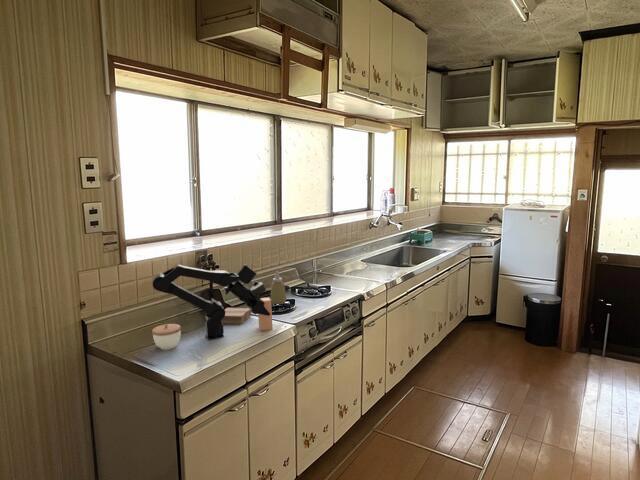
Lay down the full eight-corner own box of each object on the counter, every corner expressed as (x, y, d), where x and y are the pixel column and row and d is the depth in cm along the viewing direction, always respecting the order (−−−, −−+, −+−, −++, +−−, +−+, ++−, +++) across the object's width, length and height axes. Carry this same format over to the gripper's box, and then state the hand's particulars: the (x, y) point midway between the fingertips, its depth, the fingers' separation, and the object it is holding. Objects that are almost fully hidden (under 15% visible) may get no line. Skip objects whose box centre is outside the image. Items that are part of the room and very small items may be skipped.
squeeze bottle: (279, 302, 230) (278, 269, 227) (289, 305, 224) (288, 271, 222) (267, 305, 224) (265, 271, 222) (277, 308, 219) (275, 274, 216)
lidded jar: (167, 340, 181) (165, 318, 180) (187, 343, 177) (185, 321, 176) (147, 350, 171) (145, 327, 170) (169, 353, 167) (167, 330, 166)
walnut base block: (241, 324, 198) (241, 316, 198) (217, 323, 201) (216, 315, 200) (251, 316, 210) (250, 308, 209) (228, 315, 212) (227, 307, 212)
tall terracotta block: (261, 330, 188) (259, 301, 186) (258, 327, 193) (257, 298, 191) (272, 329, 190) (271, 300, 188) (269, 325, 195) (268, 297, 193)
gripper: (258, 282, 178) (285, 304, 183) (249, 273, 195) (274, 293, 201) (240, 303, 177) (268, 325, 182) (233, 292, 194) (259, 312, 199)
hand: (268, 313), depth 191 cm, fingers closed on tall terracotta block, 5 cm apart
